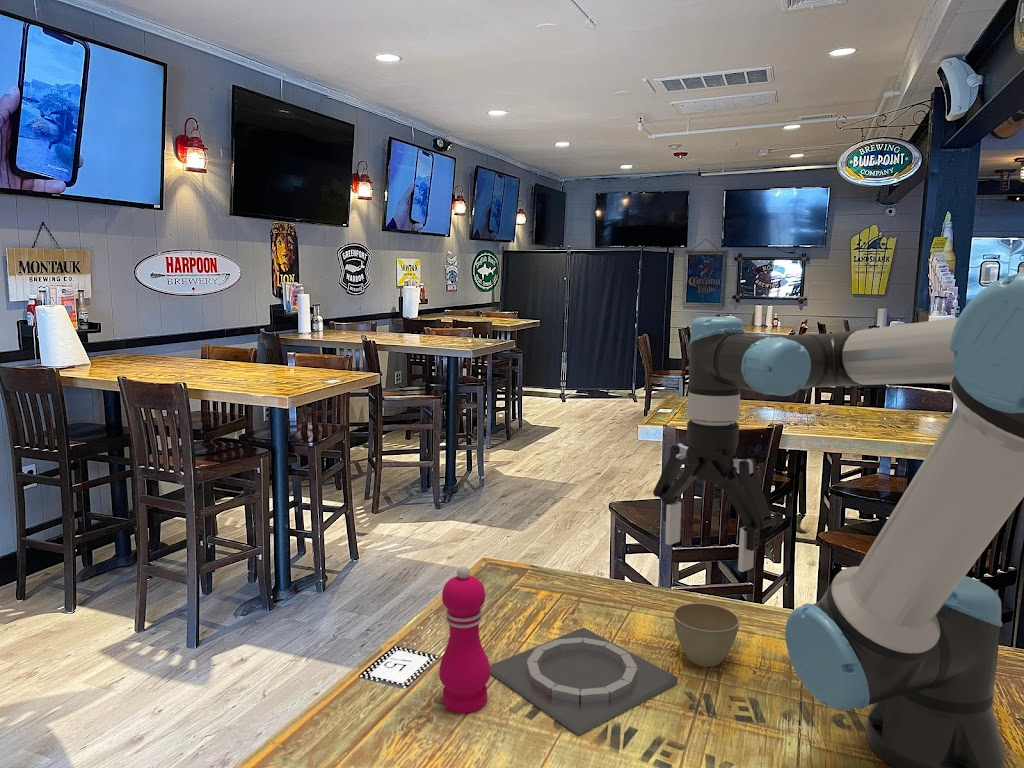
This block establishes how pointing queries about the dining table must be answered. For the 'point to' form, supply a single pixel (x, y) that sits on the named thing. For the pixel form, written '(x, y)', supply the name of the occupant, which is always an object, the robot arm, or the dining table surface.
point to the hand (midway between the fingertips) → (707, 555)
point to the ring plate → (582, 679)
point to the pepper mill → (464, 645)
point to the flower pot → (705, 632)
